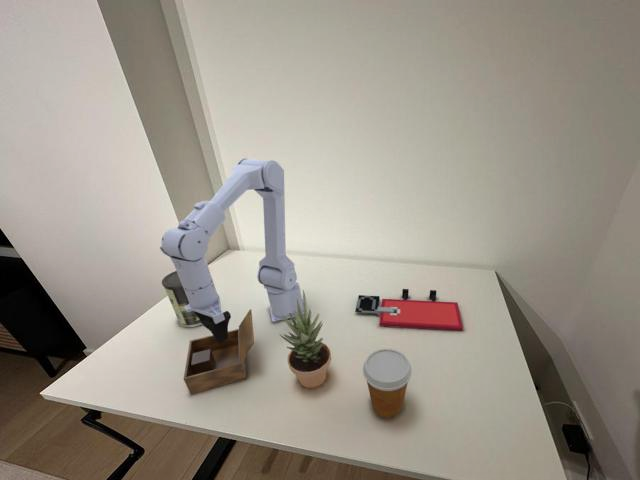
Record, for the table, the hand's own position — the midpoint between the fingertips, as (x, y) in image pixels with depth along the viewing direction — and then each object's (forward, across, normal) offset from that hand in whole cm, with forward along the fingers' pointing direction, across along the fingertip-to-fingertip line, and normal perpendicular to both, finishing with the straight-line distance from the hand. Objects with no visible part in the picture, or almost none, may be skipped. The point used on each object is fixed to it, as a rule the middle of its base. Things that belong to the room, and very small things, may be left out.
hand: (216, 332), depth 74 cm
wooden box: (+10, -1, -2) cm, 11 cm away
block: (+10, -2, -4) cm, 11 cm away
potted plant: (+11, +19, +12) cm, 25 cm away
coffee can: (+11, -26, +2) cm, 28 cm away
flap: (+2, +3, +5) cm, 6 cm away
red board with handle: (+11, +19, +46) cm, 51 cm away
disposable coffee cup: (+11, +36, +19) cm, 42 cm away
